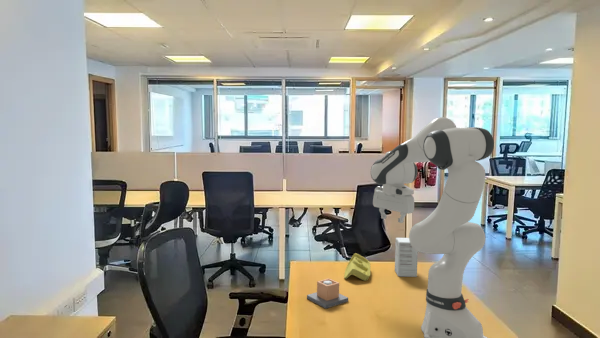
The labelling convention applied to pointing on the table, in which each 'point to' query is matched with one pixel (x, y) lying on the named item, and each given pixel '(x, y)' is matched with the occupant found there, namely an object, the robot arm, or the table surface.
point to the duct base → (328, 303)
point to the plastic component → (358, 267)
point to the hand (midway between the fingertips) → (392, 220)
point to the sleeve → (328, 289)
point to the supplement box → (405, 258)
